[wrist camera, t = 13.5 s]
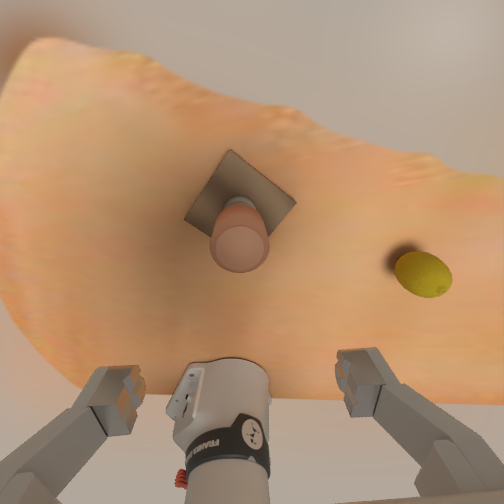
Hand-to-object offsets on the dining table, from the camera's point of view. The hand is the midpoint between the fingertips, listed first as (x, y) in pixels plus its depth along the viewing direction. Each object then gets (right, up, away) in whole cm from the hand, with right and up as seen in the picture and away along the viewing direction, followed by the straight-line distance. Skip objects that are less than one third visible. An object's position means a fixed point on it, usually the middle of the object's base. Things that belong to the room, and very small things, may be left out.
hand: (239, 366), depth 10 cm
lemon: (+23, +4, +26) cm, 35 cm away
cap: (-1, +7, +14) cm, 16 cm away
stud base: (-1, +10, +21) cm, 24 cm away
